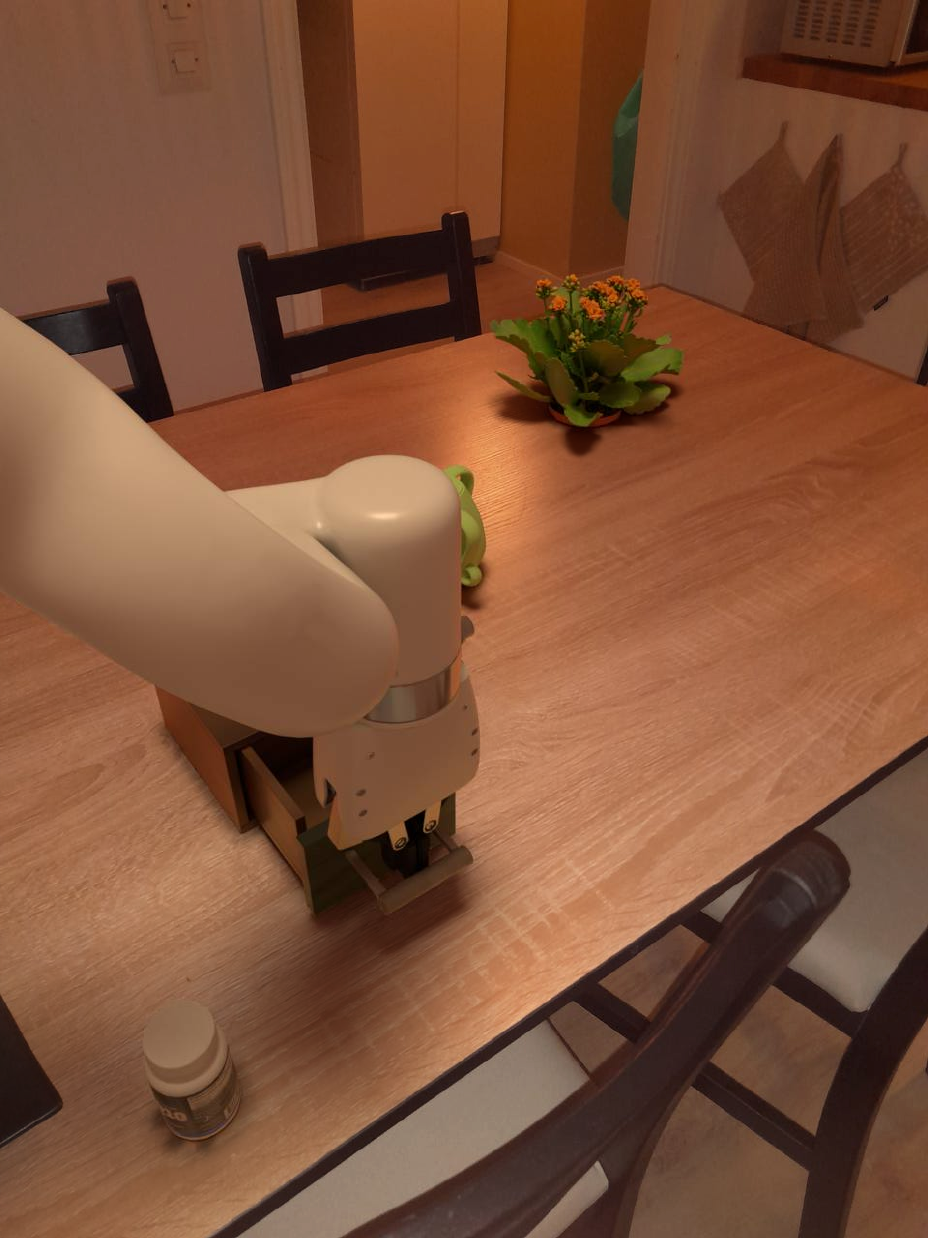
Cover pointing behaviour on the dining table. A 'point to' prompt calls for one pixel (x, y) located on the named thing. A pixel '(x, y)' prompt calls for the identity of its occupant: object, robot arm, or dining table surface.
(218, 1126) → the pill bottle
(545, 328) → the potted flower
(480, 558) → the teapot
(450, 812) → the drawer
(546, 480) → the dining table surface
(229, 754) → the cabinet
